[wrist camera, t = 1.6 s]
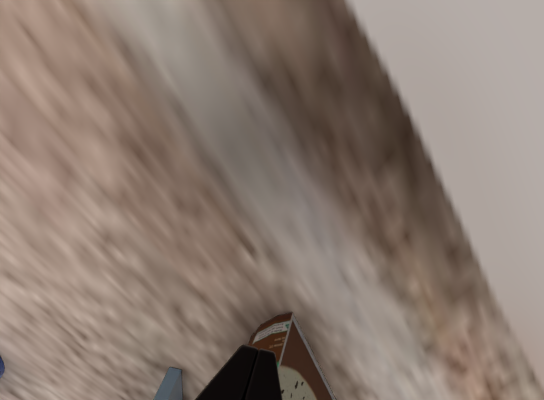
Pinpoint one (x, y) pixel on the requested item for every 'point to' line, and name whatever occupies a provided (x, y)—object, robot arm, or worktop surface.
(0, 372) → the water bottle
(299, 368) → the food container
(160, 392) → the slate-blue bay
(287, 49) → the worktop surface
